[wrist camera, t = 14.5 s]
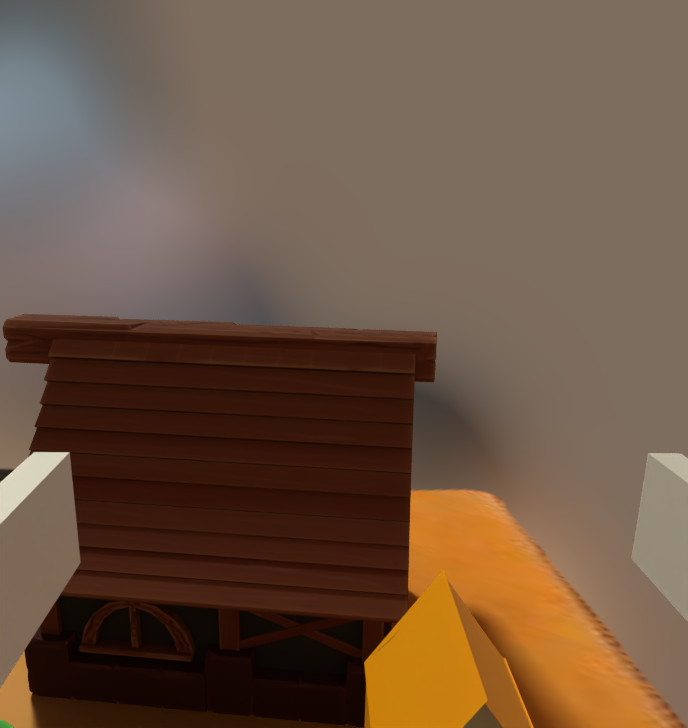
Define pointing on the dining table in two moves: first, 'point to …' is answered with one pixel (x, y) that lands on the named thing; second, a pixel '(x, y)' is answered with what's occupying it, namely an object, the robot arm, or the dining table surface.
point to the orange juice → (440, 671)
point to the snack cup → (5, 724)
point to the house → (226, 510)
